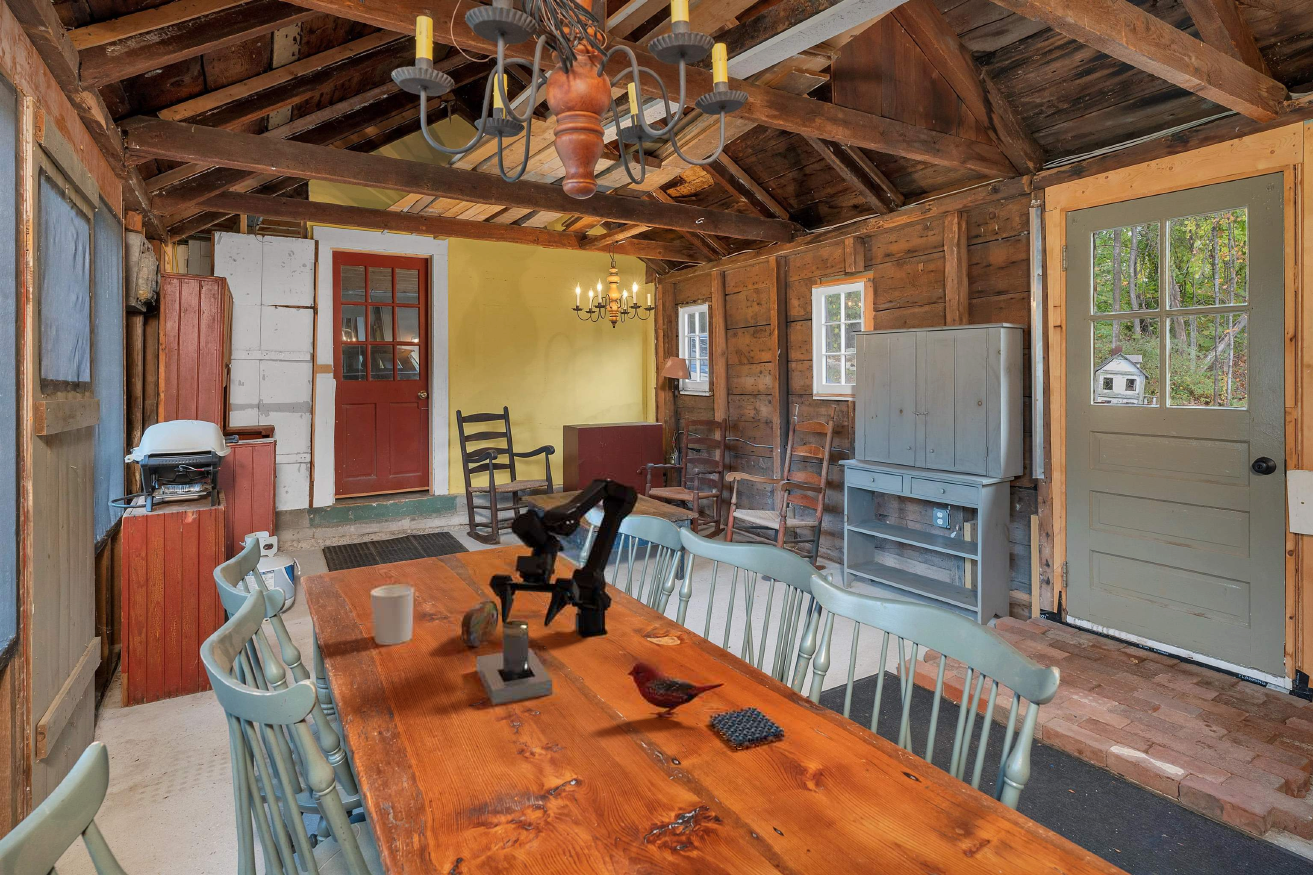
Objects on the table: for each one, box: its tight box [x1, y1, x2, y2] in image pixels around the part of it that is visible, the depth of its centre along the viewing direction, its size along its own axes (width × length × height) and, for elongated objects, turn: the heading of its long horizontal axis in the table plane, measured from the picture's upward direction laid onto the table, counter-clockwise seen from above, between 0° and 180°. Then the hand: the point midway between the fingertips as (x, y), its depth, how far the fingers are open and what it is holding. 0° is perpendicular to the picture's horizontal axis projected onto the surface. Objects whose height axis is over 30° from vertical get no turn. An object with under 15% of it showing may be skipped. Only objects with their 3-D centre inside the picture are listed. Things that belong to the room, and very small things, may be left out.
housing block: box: [476, 647, 554, 706], centre depth 139 cm, size 12×18×3 cm, turn 24°
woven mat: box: [707, 706, 787, 749], centre depth 119 cm, size 10×11×2 cm
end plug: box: [501, 619, 529, 682], centre depth 136 cm, size 5×5×13 cm
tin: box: [460, 600, 499, 647], centre depth 163 cm, size 15×3×8 cm, turn 168°
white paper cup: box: [369, 584, 415, 646], centre depth 163 cm, size 10×10×12 cm
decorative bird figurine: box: [627, 662, 725, 717], centre depth 124 cm, size 3×18×10 cm, turn 88°
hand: (524, 624), depth 141 cm, fingers open, 9 cm apart
